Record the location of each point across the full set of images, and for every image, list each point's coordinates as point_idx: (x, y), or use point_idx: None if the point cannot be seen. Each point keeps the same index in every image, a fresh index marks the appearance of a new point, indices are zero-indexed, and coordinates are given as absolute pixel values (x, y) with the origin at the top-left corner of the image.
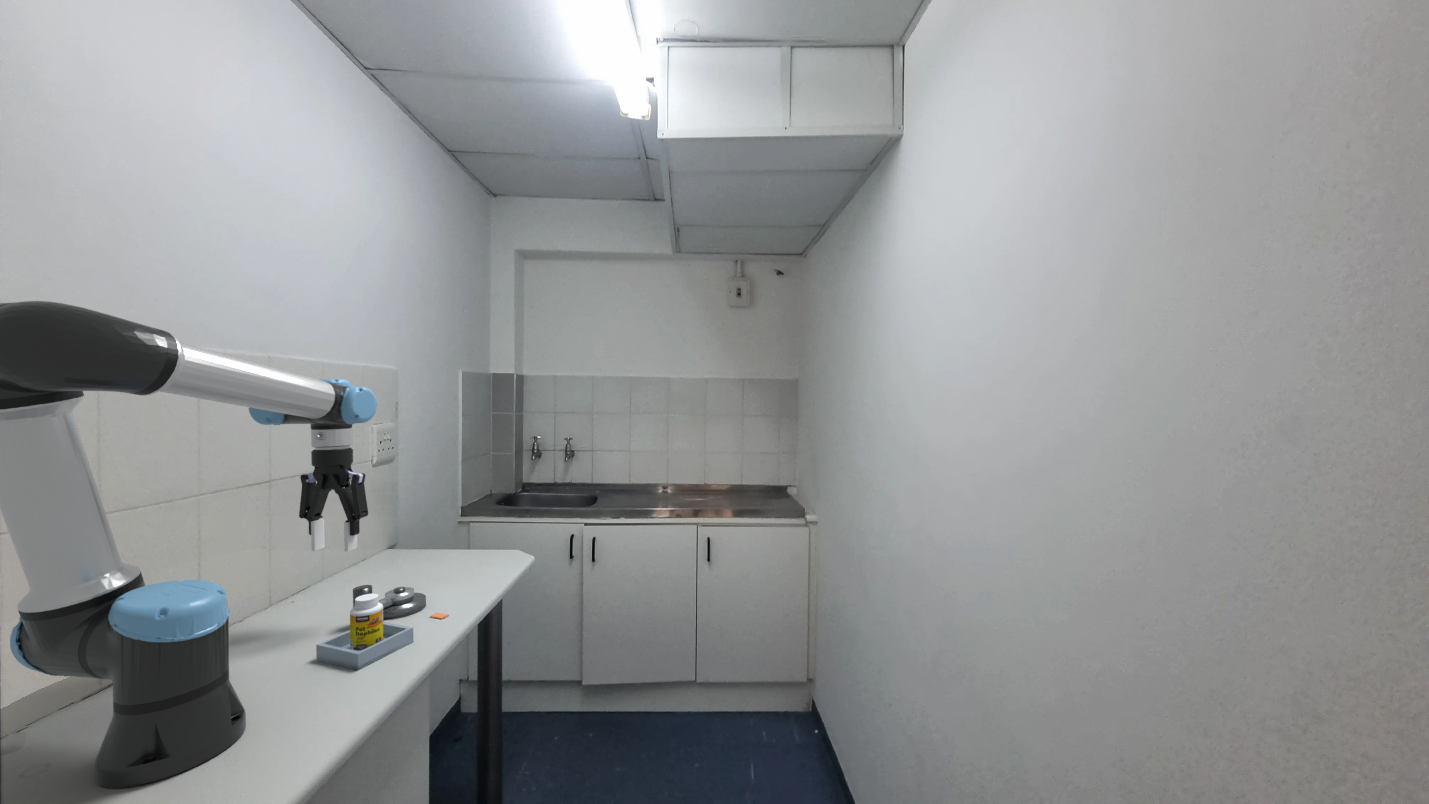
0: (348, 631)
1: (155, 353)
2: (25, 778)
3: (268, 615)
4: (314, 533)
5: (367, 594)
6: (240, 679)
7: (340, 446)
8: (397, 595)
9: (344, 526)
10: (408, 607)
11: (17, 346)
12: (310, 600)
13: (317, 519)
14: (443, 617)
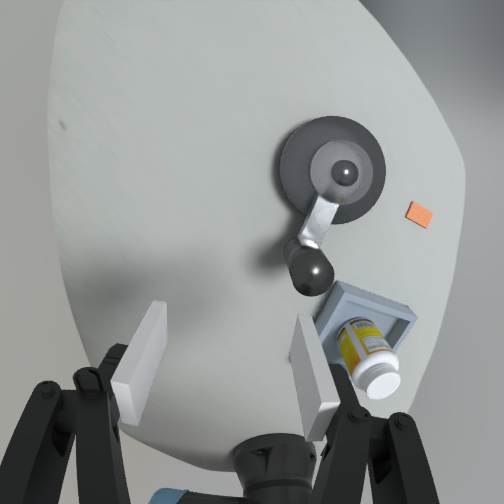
0: (324, 333)
1: None
2: (197, 464)
3: (70, 192)
4: (151, 386)
5: (380, 378)
6: (229, 389)
7: None
8: (350, 197)
9: (304, 426)
10: (370, 207)
11: None
12: (89, 115)
13: (114, 399)
14: (428, 224)
